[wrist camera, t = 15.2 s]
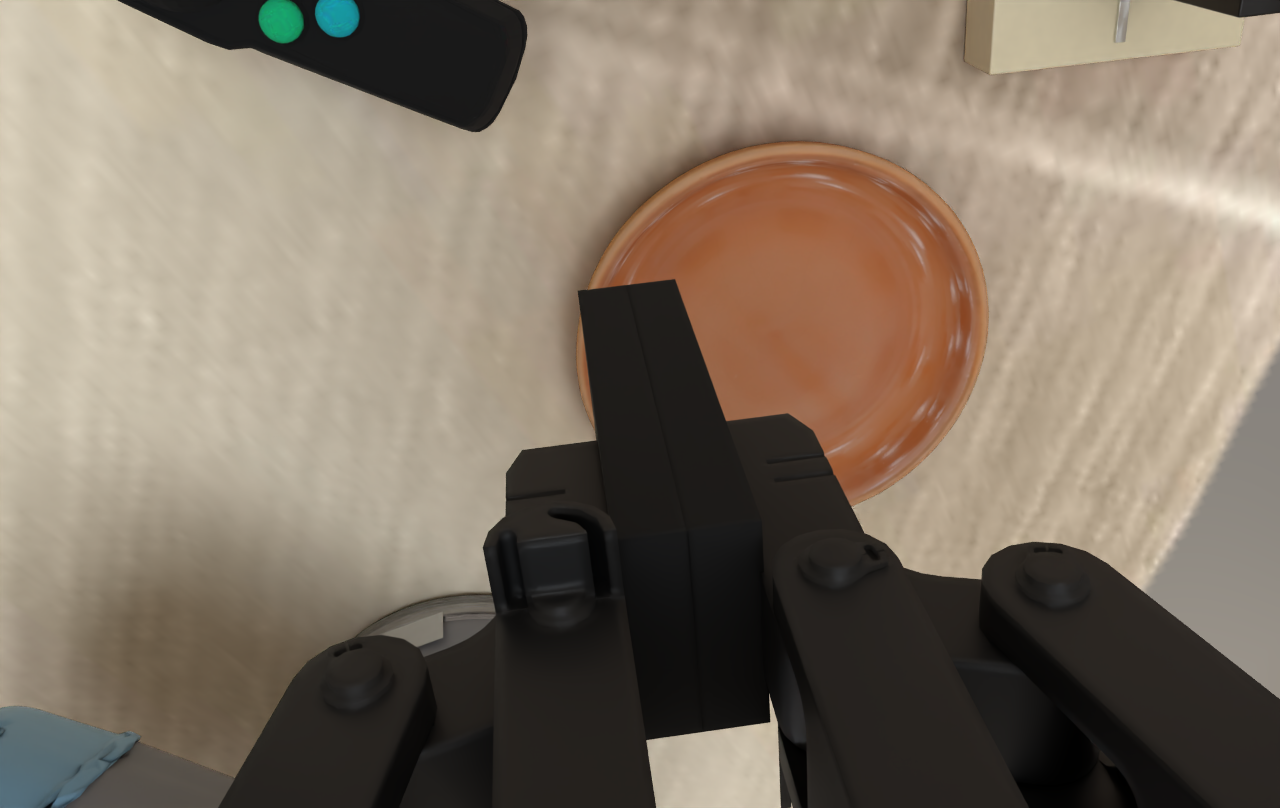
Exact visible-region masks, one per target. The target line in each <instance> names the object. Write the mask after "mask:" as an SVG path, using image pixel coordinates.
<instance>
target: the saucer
mask: <svg viewBox="0 0 1280 808" xmlns="http://www.w3.org/2000/svg"><path fill="white" fill-rule="evenodd" d="M671 279H675V280H676V283H677V286H678V288H679V291H680V294H681V297H682V300H683V302H684V305H685V308H686V311H687V314H688V316H689V319H690V322H691V325H692V327H693V330H694V333H695V336H696V339H697V341H698V344H699V347H700V350H701V353H702V355H703V358H704V361H705V364H706V366H707V369H708V372H709V375H710V378H711V380H712V383H713V386H714V389H715V391H716V394H717V397H718V400H719V403H720V405H721V408H722V411H723V414H724V417H725V419H726V421H731V420H739V419H747V418H755V417H762V416H770V415H778V414H786V413H789V414H790V415H791V416H793V417H794V418H796V419H797V420H799V421H800V422H802V423H803V424H805V425H806V426H807V427H809V428H810V429H812V430H813V431H814V433H815V435H816V437H817V439H818V441H819V443H820V445H821V447H822V449H823V451H824V456H825V457H827V459H828V461H829V463H830V465H831V467H832V469H833V474H834V475H836V477H837V479H838V481H839V483H840V485H841V487H842V489H843V491H844V493H845V495H846V497H847V499H848V501H849V503H850V505H851V506H854V505H856V504H858V503H860V502H863V501H865V500H867V499H869V498H871V497H873V496H875V495H877V494H879V493H880V492H882V491H884V490H885V489H887V488H889V487H890V486H892V485H893V484H894V483H896V482H897V481H899V480H900V479H902V478H903V477H904V476H906V475H907V474H908V473H909V472H911V471H912V470H913V469H914V468H915V467H917V466H918V465H919V464H920V463H921V462H922V461H923V460H924V459H925V458H926V457H927V456H928V455H929V454H930V453H931V452H932V451H933V450H934V449H935V448H936V446H937V445H938V444H939V443H940V442H941V441H942V439H943V438H944V437H945V436H946V434H947V433H948V432H949V430H950V429H951V428H952V426H953V425H954V423H955V422H956V420H957V419H958V417H959V415H960V414H961V412H962V410H963V408H964V407H965V405H966V403H967V401H968V399H969V397H970V395H971V392H972V390H973V388H974V386H975V383H976V380H977V378H978V375H979V371H980V368H981V365H982V361H983V358H984V353H985V348H986V342H987V335H988V318H989V316H988V297H987V289H986V283H985V278H984V274H983V269H982V266H981V263H980V260H979V257H978V254H977V252H976V249H975V247H974V245H973V243H972V240H971V238H970V237H969V235H968V233H967V231H966V229H965V228H964V226H963V225H962V223H961V222H960V220H959V219H958V217H957V216H956V214H955V213H954V212H953V211H952V209H951V208H950V207H949V206H948V205H947V204H946V203H945V202H944V201H943V200H942V199H941V197H940V196H939V195H938V194H937V193H935V192H934V191H933V190H932V189H931V188H930V187H929V186H928V185H926V184H925V183H924V182H923V181H921V180H920V179H918V178H917V177H916V176H914V175H913V174H911V173H910V172H908V171H906V170H905V169H903V168H901V167H899V166H897V165H895V164H893V163H891V162H889V161H888V160H885V159H883V158H880V157H878V156H875V155H872V154H869V153H866V152H863V151H860V150H856V149H853V148H849V147H845V146H840V145H835V144H828V143H821V142H804V141H792V142H777V143H768V144H762V145H756V146H751V147H747V148H743V149H740V150H736V151H733V152H730V153H727V154H724V155H721V156H719V157H716V158H714V159H711V160H709V161H707V162H705V163H703V164H700V165H698V166H696V167H694V168H693V169H691V170H689V171H688V172H686V173H684V174H683V175H681V176H679V177H678V178H676V179H674V180H673V181H671V182H670V183H669V184H667V185H666V186H664V187H663V188H662V189H660V190H659V191H658V192H656V193H655V194H654V195H653V196H652V197H651V198H650V199H648V200H647V201H646V202H645V203H644V204H643V205H642V206H640V207H639V208H638V210H637V211H636V212H635V213H634V214H633V215H632V216H631V217H630V218H629V219H628V220H627V221H626V223H625V224H624V225H623V226H622V227H621V228H620V229H619V231H618V232H617V233H616V235H615V236H614V238H613V239H612V241H611V242H610V244H609V245H608V247H607V249H606V250H605V252H604V254H603V255H602V257H601V259H600V261H599V263H598V265H597V267H596V269H595V271H594V273H593V276H592V278H591V281H590V283H589V286H588V289H587V290H589V289H597V288H605V287H613V286H622V285H630V284H638V283H646V282H654V281H663V280H671ZM576 365H577V375H578V381H579V387H580V392H581V396H582V400H583V403H584V406H585V409H586V412H587V414H588V417H589V419H590V421H591V424H592V426H593V428H594V430H595V425H594V417H593V409H592V401H591V393H590V385H589V377H588V369H587V361H586V353H585V345H584V337H583V329H582V321H581V313H580V318H579V325H578V332H577V343H576Z"/></svg>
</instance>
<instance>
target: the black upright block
mask: <svg viewBox="0 0 1280 808" xmlns="http://www.w3.org/2000/svg"><path fill="white" fill-rule="evenodd" d="M1174 1H1178V2H1182V3H1185V4H1189V5H1193V6H1197V7H1200V8H1204V9H1208V10H1211V11H1215V12H1219V13H1223V14H1226V15H1230V16H1234V17H1238V18H1242V17H1250V16H1258V15H1266V14H1274V13H1280V0H1174Z"/></svg>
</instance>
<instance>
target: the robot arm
mask: <svg viewBox="0 0 1280 808" xmlns="http://www.w3.org/2000/svg"><path fill="white" fill-rule="evenodd" d="M578 297H579V305H580V313H581V321H582V329H583V337H584V345H585V353H586V361H587V369H588V377H589V385H590V393H591V401H592V409H593V417H594V425H595V433H596V441H590V442H582V443H574V444H566V445H558V446H551V447H543V448H535V449H527V450H522V451H521V453H520V454H519V455H518V457H517V458H516V460H515V461H514V463H513V464H512V465H511V467H510V468H509V470H508V471H507V473H506V517H504V518H502V519H501V520H500V521H499V522H498V523H497V524H496V525H495V526H494V527H493V528H492V529H491V530H490V531H489V532H488V535H487V538H486V540H485V543H484V546H483V550H484V556H485V561H486V566H487V571H488V576H489V581H490V586H491V592H492V595H465V596H455V597H447V598H441V599H436V600H431V601H427V602H423V603H420V604H416V605H413V606H410V607H408V608H405V609H402V610H400V611H397V612H395V613H393V614H391V615H389V616H387V617H385V618H383V619H381V620H379V621H378V622H376V623H374V624H373V625H371V626H370V627H368V628H367V629H365V630H364V631H362V632H361V633H360V634H359V635H357V636H356V637H355V638H353V639H351V640H348V641H345V642H342V643H340V644H337V645H334V646H331V647H329V648H328V649H326V650H325V651H323V652H322V653H320V654H319V655H317V656H316V657H314V658H313V659H311V660H309V661H308V662H307V663H306V665H305V666H304V667H303V668H302V669H301V670H300V672H299V673H298V674H297V675H296V676H295V677H294V679H293V680H292V682H291V683H290V685H289V687H288V689H287V690H286V692H285V694H284V695H283V697H282V699H281V701H280V702H279V704H278V706H277V707H276V709H275V711H274V713H273V714H272V716H271V718H270V719H269V721H268V723H267V725H266V726H265V728H264V730H263V731H262V733H261V735H260V737H259V738H258V740H257V742H256V743H255V745H254V747H253V749H252V750H251V752H250V754H249V755H248V757H247V759H246V761H245V762H244V764H243V766H242V767H241V769H240V771H239V773H238V774H237V776H236V778H233V777H230V776H228V775H225V774H222V773H220V772H217V771H214V770H212V769H209V768H206V767H204V766H201V765H198V764H196V763H193V762H191V761H188V760H185V759H183V758H180V757H177V756H175V755H172V754H169V753H167V752H164V751H161V750H159V749H156V748H153V747H151V746H148V745H146V744H143V743H140V742H138V741H139V740H140V738H141V736H139V735H138V734H136V733H134V732H130V731H127V732H124V733H121V734H116V733H112V732H109V731H106V730H103V729H99V728H96V727H93V726H90V725H86V724H83V723H80V722H77V721H74V720H70V719H67V718H64V717H61V716H58V715H55V714H52V713H48V712H45V711H42V710H39V709H35V708H30V707H23V706H9V707H2V708H0V808H656V803H655V797H654V790H653V783H652V776H651V770H650V763H649V756H648V750H647V743H646V740H649V739H656V738H663V737H670V736H677V735H684V734H691V733H698V732H705V731H712V730H719V729H726V728H733V727H740V726H747V725H754V724H761V723H768V722H770V704H769V694H770V698H771V701H772V704H773V708H774V711H775V714H776V718H777V721H778V739H779V766H780V793H781V808H791V802H792V806H793V808H1280V699H1279V698H1277V697H1276V696H1275V695H1274V694H1272V693H1271V692H1270V691H1269V690H1267V689H1266V688H1265V687H1263V686H1262V685H1261V684H1260V683H1258V682H1257V681H1256V680H1255V679H1253V678H1252V677H1251V676H1249V675H1248V674H1247V673H1246V672H1244V671H1243V670H1242V669H1241V668H1239V667H1238V666H1237V665H1236V664H1234V663H1233V662H1232V661H1230V660H1229V659H1228V658H1227V657H1225V656H1224V655H1223V654H1221V653H1220V652H1219V651H1218V650H1217V649H1215V648H1214V647H1213V646H1211V645H1210V644H1209V643H1208V642H1206V641H1205V640H1204V639H1203V638H1201V637H1200V636H1199V635H1197V634H1196V633H1195V632H1194V631H1192V630H1191V629H1190V628H1189V627H1187V626H1186V625H1184V624H1183V623H1182V622H1181V621H1179V620H1178V619H1177V618H1176V617H1175V616H1173V615H1172V614H1171V613H1169V612H1168V611H1167V610H1166V609H1164V608H1163V607H1162V606H1161V605H1159V604H1158V603H1157V602H1156V601H1154V600H1153V599H1152V598H1150V597H1149V596H1148V595H1147V594H1145V593H1144V592H1143V591H1142V590H1140V589H1139V588H1138V587H1137V586H1135V585H1134V584H1133V583H1131V582H1130V581H1129V580H1128V579H1126V578H1125V577H1124V576H1123V575H1121V574H1120V573H1119V572H1117V571H1116V570H1115V569H1114V568H1112V567H1111V566H1110V565H1109V564H1107V563H1106V562H1104V561H1102V560H1100V559H1099V558H1097V557H1095V556H1093V555H1092V554H1090V553H1088V552H1086V551H1083V550H1080V549H1077V548H1073V547H1070V546H1066V545H1063V544H1057V543H1043V542H1030V543H1024V544H1017V545H1011V546H1008V547H1006V548H1004V549H1003V550H1001V551H999V552H997V553H995V554H993V555H991V557H990V558H989V560H988V561H987V562H986V564H985V565H984V567H983V568H982V579H981V580H980V579H967V578H955V577H942V576H935V575H929V574H922V573H919V572H916V571H912V570H909V569H906V568H903V566H902V564H901V562H900V560H899V558H898V557H897V556H896V555H895V554H894V552H893V551H892V550H891V549H890V548H889V547H888V546H887V545H886V544H885V543H883V542H881V541H879V540H877V539H875V538H873V537H871V536H869V535H868V534H865V533H864V531H863V529H862V527H861V525H860V523H859V521H858V519H857V517H856V515H855V513H854V511H853V509H852V507H851V505H850V503H849V501H848V499H847V497H846V495H845V493H844V491H843V489H842V487H841V485H840V483H839V481H838V479H837V477H836V475H834V474H833V469H832V467H831V465H830V463H829V461H828V459H827V457H825V456H824V451H823V449H822V447H821V445H820V443H819V441H818V439H817V437H816V435H815V433H814V431H813V430H812V429H810V428H809V427H807V426H806V425H805V424H803V423H802V422H800V421H799V420H797V419H796V418H794V417H793V416H791V415H790V414H789V413H786V414H778V415H770V416H762V417H755V418H747V419H739V420H731V421H726V419H725V417H724V414H723V411H722V408H721V405H720V403H719V400H718V397H717V394H716V391H715V389H714V386H713V383H712V380H711V378H710V375H709V372H708V369H707V366H706V364H705V361H704V358H703V355H702V353H701V350H700V347H699V344H698V341H697V339H696V336H695V333H694V330H693V327H692V325H691V322H690V319H689V316H688V314H687V311H686V308H685V305H684V302H683V300H682V297H681V294H680V291H679V288H678V286H677V283H676V280H675V279H671V280H663V281H654V282H646V283H638V284H630V285H622V286H613V287H605V288H597V289H589V290H581V291H578Z"/></svg>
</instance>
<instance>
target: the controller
mask: <svg viewBox="0 0 1280 808" xmlns="http://www.w3.org/2000/svg"><path fill="white" fill-rule="evenodd" d="M118 1H120V2H122V3H124V4H126V5H128V6H130V7H132V8H135V9H137V10H139V11H141V12H143V13H145V14H147V15H150V16H152V17H154V18H156V19H158V20H160V21H162V22H164V23H167V24H169V25H171V26H173V27H175V28H177V29H179V30H182V31H184V32H186V33H188V34H190V35H192V36H194V37H196V38H199V39H201V40H203V41H205V42H207V43H210V44H213V45H216V46H219V47H222V48H225V49H228V50H232V49H243V48H253V49H255V50H258V51H260V52H262V53H265V54H267V55H270V56H272V57H275V58H278V59H280V60H283V61H285V62H288V63H291V64H293V65H296V66H298V67H301V68H304V69H306V70H309V71H312V72H314V73H317V74H319V75H322V76H325V77H327V78H330V79H332V80H335V81H338V82H340V83H343V84H345V85H348V86H351V87H353V88H356V89H358V90H361V91H364V92H366V93H369V94H371V95H374V96H377V97H379V98H382V99H384V100H387V101H390V102H392V103H395V104H397V105H400V106H403V107H405V108H408V109H410V110H413V111H416V112H418V113H421V114H423V115H426V116H429V117H431V118H434V119H437V120H439V121H442V122H445V123H448V124H450V125H453V126H456V127H458V128H461V129H464V130H468V131H471V132H480V131H482V130H484V129H486V128H487V127H488V126H490V125H491V124H492V123H493V122H494V120H495V119H496V117H497V116H498V114H499V113H500V111H501V109H502V107H503V105H504V102H505V100H506V98H507V96H508V94H509V92H510V90H511V88H512V86H513V84H514V82H515V80H516V77H517V74H518V71H519V67H520V64H521V60H522V57H523V54H524V50H525V46H526V40H527V25H526V22H525V18H524V16H523V15H522V13H521V12H520V11H519V10H517V9H515V8H513V7H511V6H509V5H507V4H505V3H503V2H501V1H499V0H118Z"/></svg>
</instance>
